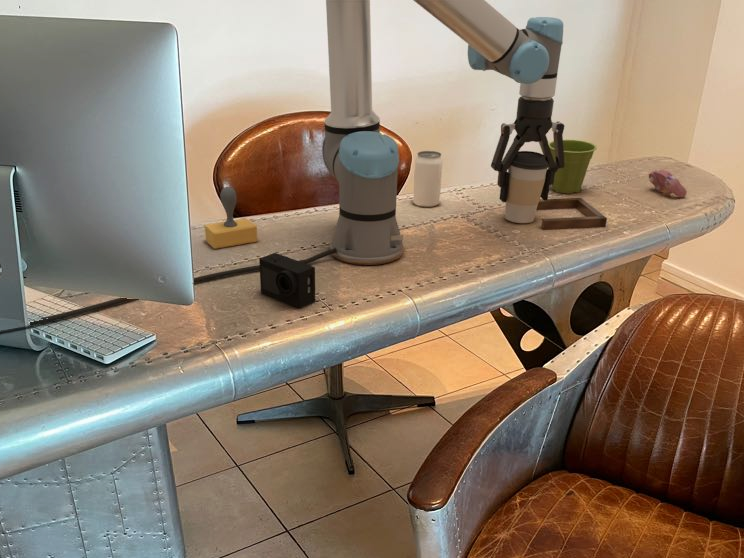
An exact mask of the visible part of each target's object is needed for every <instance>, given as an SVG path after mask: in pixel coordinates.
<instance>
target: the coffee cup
mask: <svg viewBox="0 0 744 558" xmlns="http://www.w3.org/2000/svg"><path fill="white" fill-rule="evenodd" d="M548 167H549V166H548V161H547V160H546V159H545V156H544V155H543V153H540V152H537V151H531V150H519V151H518V153H517V155H516V157H515V158H514V160H513V162H512V163H511V165H510V167H509V168H508V170H507V172H508V173H509V174H510V175H509V183H508V192H507V200H506V202H505V205H504V206H505V207H504V219H505V220H507V221H508V222H512V223H517V224H530V223H532V222H534V221H535V216H536V212H537V210H536V209H537V206H538V203H539V200H540V199H541V193H542V189H543V186H544V182H545V178H546V177H545V175H546V171H547V169H548Z"/></svg>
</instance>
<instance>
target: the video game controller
mask: <svg viewBox="0 0 744 558" xmlns="http://www.w3.org/2000/svg"><path fill="white" fill-rule="evenodd" d="M648 180H649V181H648V182H650V183H651V184H652V185H653V186H654V187H655V190H656V191H657V192H658V193H661V192H663V194H664V195H665V196H670V195H671V194H673V195H674V196H676V197H678V198H681V199H682V198H685V197H686V196H687V192H688V191H687V189H686V188H685V186H684V185H682V184H681V182H680V180H679V179H678V178H677V176H675V175H673V174H672V172H670V171H669V170H665V169H660V168H657V170H656V169H655V170H652V172H650V173H649V174H648Z"/></svg>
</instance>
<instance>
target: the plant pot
mask: <svg viewBox="0 0 744 558" xmlns="http://www.w3.org/2000/svg"><path fill="white" fill-rule="evenodd" d="M548 145H549V147H550V150H551V153H552V156H553V159H554V162H555V150H554V140H553V141H549V142H548ZM563 149H564V163H565V166H564V167H563V168H559V169H558V171H557V172H555V177H554V183H553V185H551V190H552V191H555V192H556V193H559V194H566V195H569V194H573V193H575V194H577V193H579V192H581V190H582V187H583V183H584V180H585V178H586V174H587V171H588V167H589V165H590V161H591V160H592V158H593V155H594V152H595V151H596V150H597V149H598V147H597V145H596V144H594V143H592V142H589V141H585V140H579V139H563Z"/></svg>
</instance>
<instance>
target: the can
mask: <svg viewBox="0 0 744 558" xmlns="http://www.w3.org/2000/svg"><path fill="white" fill-rule="evenodd" d="M413 174H414V175H413V193H412V194H413V196H412V202H413V204H414V205H415V206H417V207H420V208H433V207H437V206H438V205H439V204H440V202H441V201H440V199H441V189H442V177H443V176H442V174H443V158H442V153H441V152H439V151H434V150H422V151H419V152H417V156H416V158H415V161H414V173H413Z"/></svg>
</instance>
